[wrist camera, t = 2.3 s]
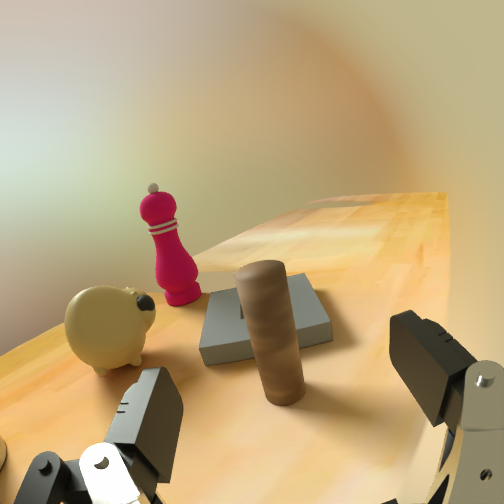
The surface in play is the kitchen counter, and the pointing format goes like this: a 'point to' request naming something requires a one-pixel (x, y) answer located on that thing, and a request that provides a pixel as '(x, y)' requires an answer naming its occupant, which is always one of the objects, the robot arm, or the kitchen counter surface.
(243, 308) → the pin
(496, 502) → the robot arm
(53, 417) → the kitchen counter surface
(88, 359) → the beige animal figure
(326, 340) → the socket
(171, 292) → the pepper mill
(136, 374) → the kitchen counter surface
